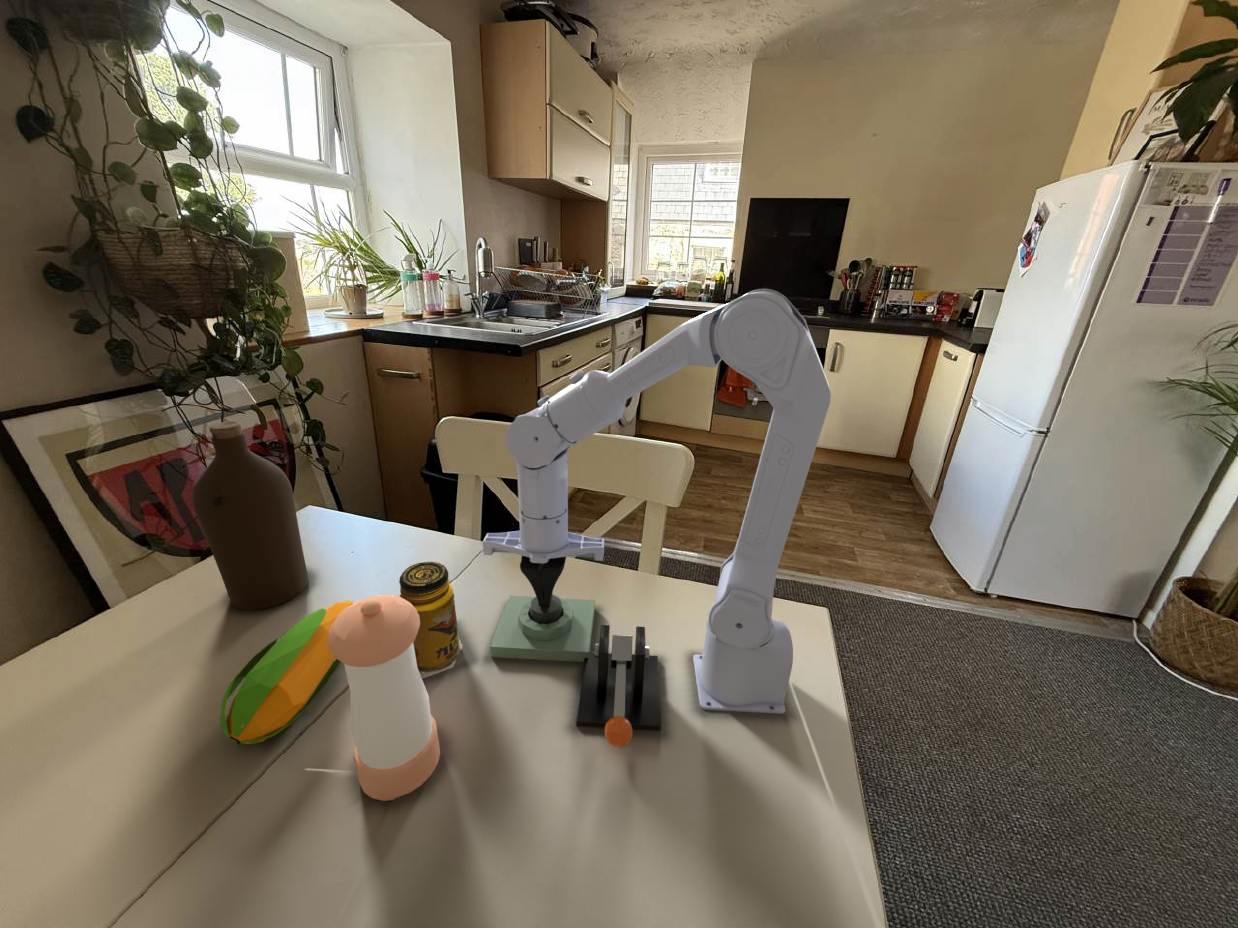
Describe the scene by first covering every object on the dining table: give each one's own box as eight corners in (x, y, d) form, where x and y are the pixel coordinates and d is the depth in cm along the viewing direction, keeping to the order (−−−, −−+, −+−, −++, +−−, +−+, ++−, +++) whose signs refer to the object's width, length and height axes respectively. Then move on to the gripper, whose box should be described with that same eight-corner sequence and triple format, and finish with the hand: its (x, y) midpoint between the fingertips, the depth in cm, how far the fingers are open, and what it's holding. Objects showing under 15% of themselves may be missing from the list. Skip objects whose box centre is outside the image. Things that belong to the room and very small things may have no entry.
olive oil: (318, 595, 71) (279, 429, 61) (226, 624, 65) (166, 445, 55) (308, 560, 78) (271, 408, 69) (224, 583, 72) (171, 420, 63)
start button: (563, 604, 66) (563, 594, 65) (559, 625, 62) (559, 614, 62) (533, 603, 66) (533, 592, 66) (527, 623, 62) (527, 612, 62)
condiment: (470, 661, 61) (462, 579, 56) (396, 690, 56) (380, 604, 51) (452, 625, 66) (443, 549, 61) (384, 649, 62) (369, 569, 57)
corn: (182, 702, 45) (315, 572, 63) (201, 760, 47) (322, 620, 66) (265, 711, 45) (373, 578, 63) (278, 768, 48) (378, 625, 66)
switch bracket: (660, 732, 52) (666, 676, 49) (575, 727, 52) (576, 672, 49) (657, 661, 62) (661, 611, 59) (585, 657, 62) (585, 607, 59)
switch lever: (631, 751, 49) (632, 744, 47) (603, 749, 49) (603, 742, 47) (634, 645, 57) (635, 634, 55) (609, 643, 57) (610, 633, 55)
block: (594, 610, 70) (595, 590, 69) (588, 664, 61) (588, 641, 59) (510, 606, 70) (509, 585, 69) (491, 658, 61) (489, 636, 60)
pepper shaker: (381, 728, 52) (350, 574, 44) (451, 732, 51) (431, 578, 44) (343, 798, 45) (298, 631, 37) (423, 803, 45) (394, 636, 37)
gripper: (471, 521, 55) (480, 619, 60) (602, 528, 55) (599, 626, 60) (489, 493, 61) (495, 584, 66) (606, 499, 61) (603, 590, 66)
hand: (545, 601), depth 64 cm, fingers closed
